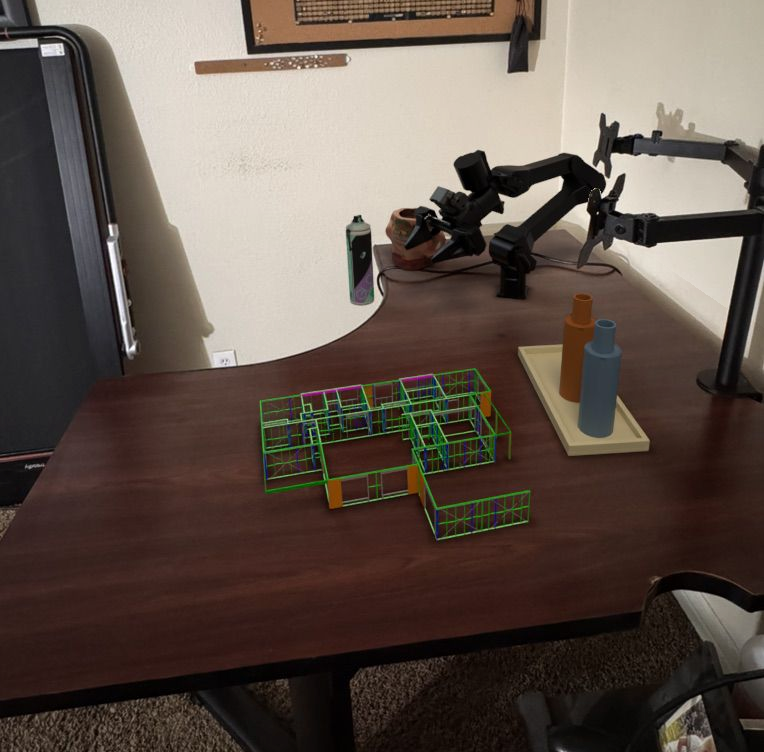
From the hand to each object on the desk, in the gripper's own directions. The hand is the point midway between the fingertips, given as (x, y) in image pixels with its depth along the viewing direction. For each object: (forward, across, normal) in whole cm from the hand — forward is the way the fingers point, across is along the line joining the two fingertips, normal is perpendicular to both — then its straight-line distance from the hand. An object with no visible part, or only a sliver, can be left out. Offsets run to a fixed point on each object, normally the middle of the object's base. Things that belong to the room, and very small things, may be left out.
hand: (418, 254), depth 124 cm
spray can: (+10, -17, +12) cm, 23 cm away
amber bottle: (+2, +37, +16) cm, 40 cm away
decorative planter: (-10, -27, +22) cm, 36 cm away
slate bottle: (+6, +44, +14) cm, 47 cm away
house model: (+32, +34, +1) cm, 47 cm away
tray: (+2, +37, +16) cm, 40 cm away
